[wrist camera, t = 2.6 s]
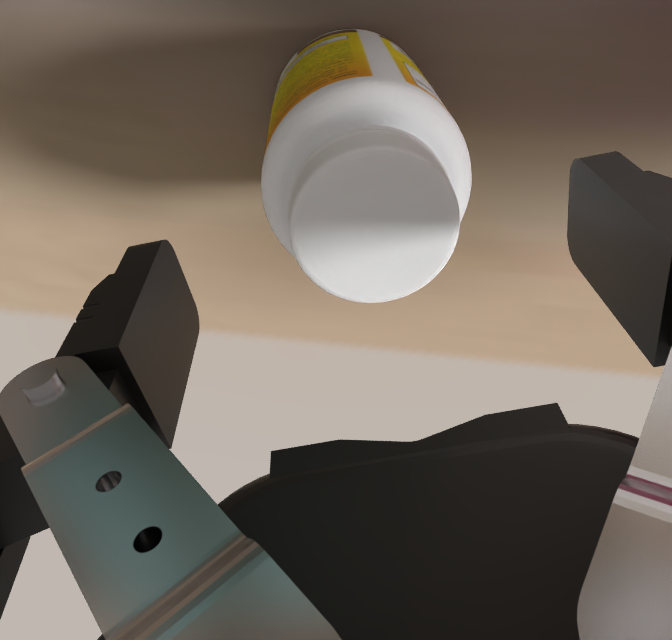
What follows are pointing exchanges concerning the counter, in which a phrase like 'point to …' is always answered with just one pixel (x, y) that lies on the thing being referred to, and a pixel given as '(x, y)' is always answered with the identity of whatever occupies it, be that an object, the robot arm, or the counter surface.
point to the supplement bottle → (363, 168)
